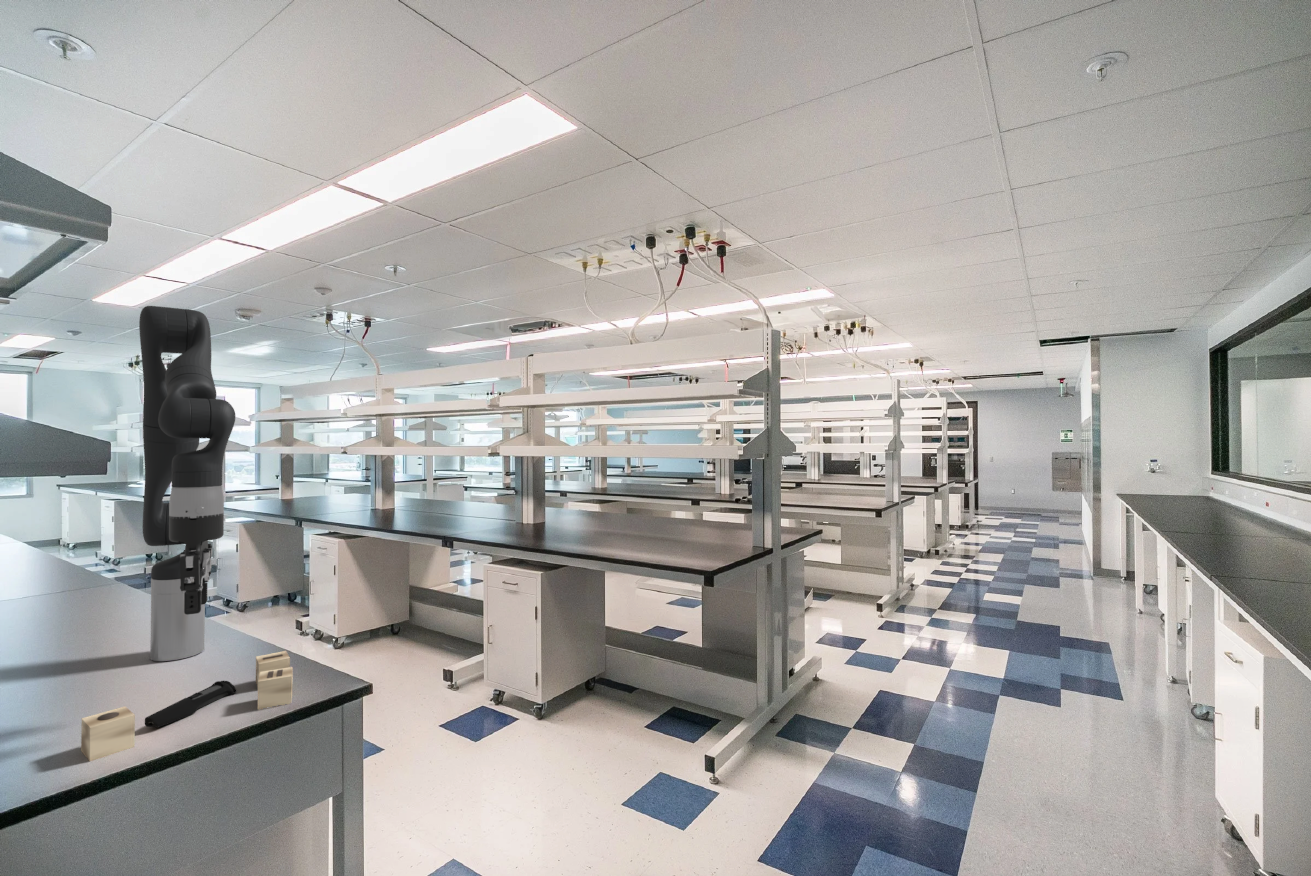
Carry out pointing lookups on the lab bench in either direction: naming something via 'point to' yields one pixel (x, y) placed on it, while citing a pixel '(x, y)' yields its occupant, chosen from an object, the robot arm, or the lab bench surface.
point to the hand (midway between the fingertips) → (196, 608)
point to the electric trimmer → (190, 704)
